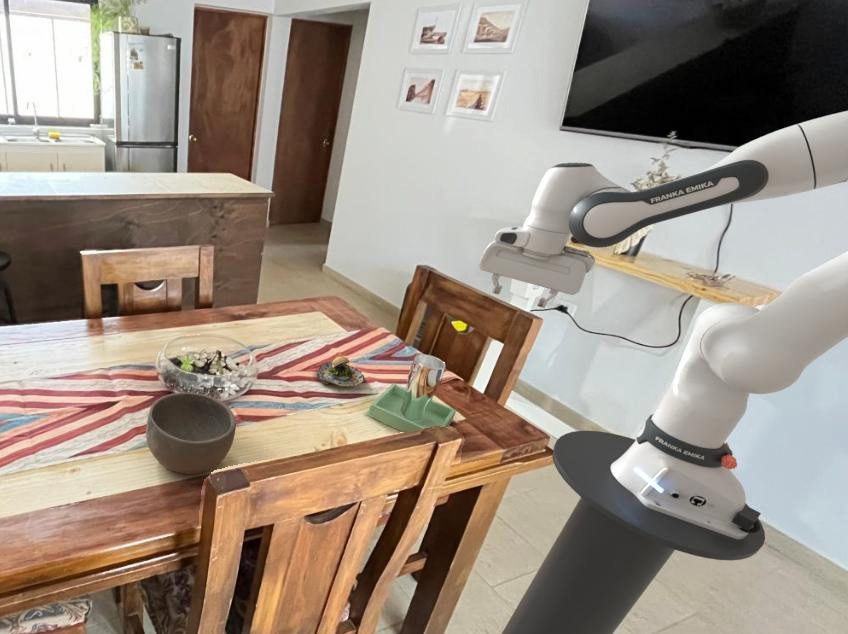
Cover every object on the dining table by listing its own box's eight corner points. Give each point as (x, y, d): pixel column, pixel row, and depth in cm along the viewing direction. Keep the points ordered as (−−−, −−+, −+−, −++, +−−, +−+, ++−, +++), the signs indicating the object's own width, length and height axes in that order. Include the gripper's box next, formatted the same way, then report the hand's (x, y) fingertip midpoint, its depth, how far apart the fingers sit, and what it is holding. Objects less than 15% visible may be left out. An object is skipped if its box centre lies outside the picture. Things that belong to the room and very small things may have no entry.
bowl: (213, 423, 113) (218, 385, 108) (244, 479, 98) (251, 438, 93) (135, 433, 107) (137, 393, 102) (155, 495, 92) (158, 451, 88)
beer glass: (394, 405, 125) (411, 351, 118) (424, 410, 124) (443, 357, 117) (398, 421, 119) (416, 366, 112) (429, 427, 118) (449, 372, 111)
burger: (322, 390, 129) (328, 364, 125) (312, 365, 139) (318, 341, 136) (368, 393, 130) (376, 368, 126) (355, 369, 140) (362, 345, 137)
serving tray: (452, 420, 122) (456, 410, 121) (433, 446, 113) (438, 435, 111) (389, 393, 131) (393, 383, 129) (367, 415, 121) (370, 404, 120)
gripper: (600, 250, 107) (572, 311, 113) (495, 226, 118) (475, 283, 124) (597, 256, 102) (568, 319, 109) (488, 231, 113) (468, 289, 120)
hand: (518, 299), depth 117 cm, fingers open, 8 cm apart
